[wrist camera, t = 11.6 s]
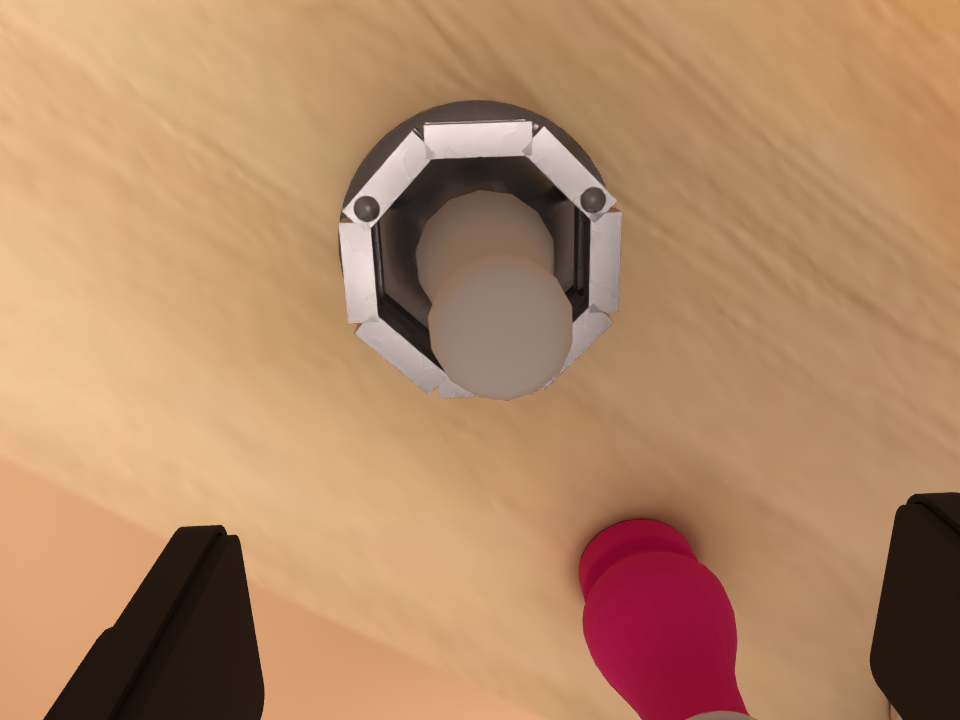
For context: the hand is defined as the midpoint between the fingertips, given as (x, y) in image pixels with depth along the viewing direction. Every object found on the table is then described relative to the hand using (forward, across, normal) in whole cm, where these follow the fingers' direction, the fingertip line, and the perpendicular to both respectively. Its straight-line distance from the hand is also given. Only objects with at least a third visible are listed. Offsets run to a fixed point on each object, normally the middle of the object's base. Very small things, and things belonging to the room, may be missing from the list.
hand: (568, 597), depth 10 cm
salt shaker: (+24, 0, 0) cm, 24 cm away
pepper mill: (+25, -7, +17) cm, 31 cm away
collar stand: (+24, +1, -1) cm, 24 cm away
